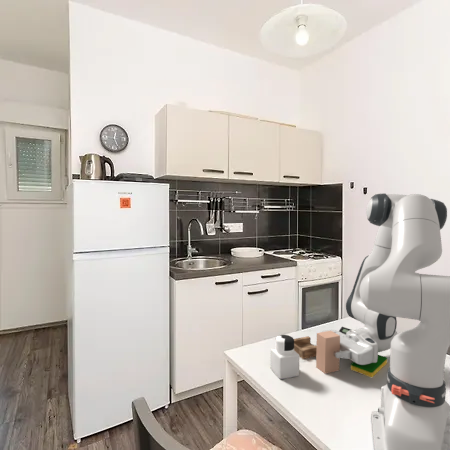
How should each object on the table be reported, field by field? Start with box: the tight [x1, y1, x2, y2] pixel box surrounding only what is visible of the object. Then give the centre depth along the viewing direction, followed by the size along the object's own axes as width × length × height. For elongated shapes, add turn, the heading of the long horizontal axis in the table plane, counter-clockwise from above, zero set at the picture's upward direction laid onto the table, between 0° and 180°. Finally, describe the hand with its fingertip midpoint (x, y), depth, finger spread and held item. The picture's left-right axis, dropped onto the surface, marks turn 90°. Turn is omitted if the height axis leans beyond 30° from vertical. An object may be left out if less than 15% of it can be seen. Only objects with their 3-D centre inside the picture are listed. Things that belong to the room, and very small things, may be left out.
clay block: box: [315, 331, 341, 375], centre depth 103 cm, size 6×4×12 cm
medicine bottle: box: [269, 334, 301, 380], centre depth 101 cm, size 7×7×12 cm
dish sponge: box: [350, 354, 388, 378], centre depth 106 cm, size 7×14×2 cm, turn 133°
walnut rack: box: [293, 336, 317, 360], centre depth 117 cm, size 10×11×3 cm
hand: (326, 349), depth 103 cm, fingers open, 7 cm apart
